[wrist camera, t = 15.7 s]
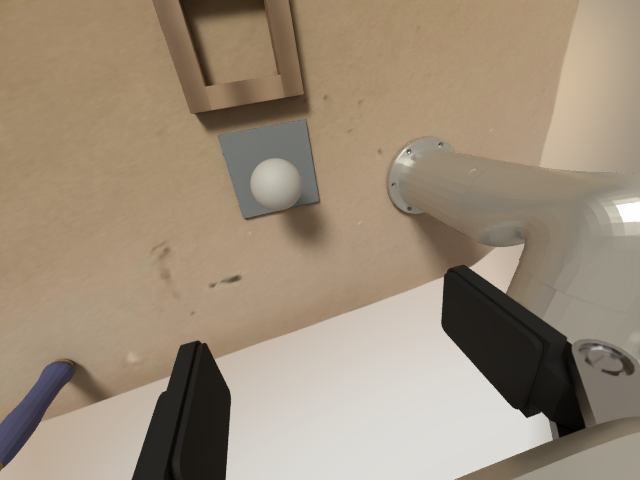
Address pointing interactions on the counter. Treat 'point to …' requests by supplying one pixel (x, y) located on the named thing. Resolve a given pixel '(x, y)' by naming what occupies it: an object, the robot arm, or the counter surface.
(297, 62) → the socket block
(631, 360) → the robot arm
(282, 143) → the rubber mat
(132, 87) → the counter surface
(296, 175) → the lightbulb
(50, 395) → the rubber mallet
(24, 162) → the counter surface
